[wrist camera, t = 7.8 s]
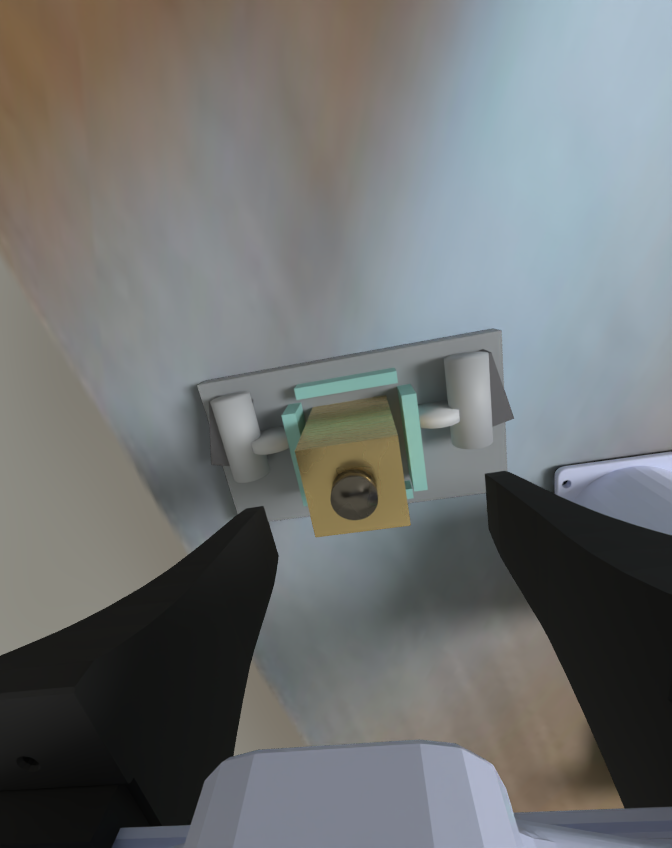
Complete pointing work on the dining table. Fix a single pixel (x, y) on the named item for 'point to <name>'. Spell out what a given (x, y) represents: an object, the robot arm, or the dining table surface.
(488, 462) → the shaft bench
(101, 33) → the dining table surface
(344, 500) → the coupling block
